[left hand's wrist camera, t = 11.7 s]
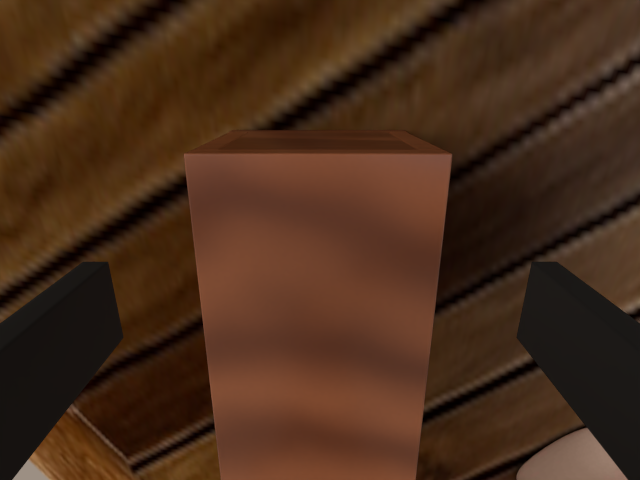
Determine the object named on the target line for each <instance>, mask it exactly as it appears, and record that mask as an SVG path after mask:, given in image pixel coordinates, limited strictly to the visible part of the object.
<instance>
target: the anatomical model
mask: <svg viewBox="0 0 640 480" xmlns="http://www.w3.org/2000/svg"><path fill="white" fill-rule="evenodd" d="M517 480H628V479H627V478H626V477H625V475H624V474H623V473H622V472H621V470H620V469H619V468H618V467H617V465H616V464H615V463H614V461H613V460H612V459H611V458H610V456H609V455H608V454H607V452H606V451H605V450H604V449H603V447H602V446H601V445H600V443H599V442H598V441H597V440H596V438H595V437H594V436H593V435H592V433H591V432H590V431H589V429H588V428H583V429H580V430H577V431H575V432H573V433H570V434H568V435H566V436H564V437H562V438H560V439H558V440H557V441H555V442H553V443H552V444H550V445H548V446H547V447H545V448H544V449H542V450H541V451H539V452H538V453H537V454H535V455H534V456H533V457H531V458H530V459H529V460H528V461H526V462H525V463H524V464H523V465H522V467H521V468H520V469H519V471H518V473H517Z"/></svg>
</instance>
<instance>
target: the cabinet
mask: <svg viewBox="0 0 640 480" xmlns="http://www.w3.org/2000/svg"><path fill="white" fill-rule="evenodd" d="M184 161H185V170H186V179H187V187H188V196H189V205H190V213H191V222H192V231H193V240H194V248H195V257H196V266H197V274H198V283H199V292H200V301H201V309H202V318H203V327H204V335H205V344H206V353H207V361H208V370H209V379H210V388H211V396H212V405H213V414H214V422H215V431H216V440H217V449H218V457H219V466H220V475H221V480H416V471H417V463H418V454H419V445H420V436H421V427H422V419H423V410H424V401H425V392H426V383H427V374H428V366H429V357H430V348H431V339H432V330H433V321H434V313H435V304H436V295H437V286H438V277H439V269H440V260H441V251H442V242H443V233H444V224H445V216H446V207H447V198H448V189H449V180H450V171H451V163H452V154H451V153H449V152H447V151H445V150H442V149H440V148H438V147H436V146H434V145H432V144H430V143H428V142H426V141H424V140H422V139H419V138H417V137H415V136H413V135H411V134H409V133H407V131H405V130H232V131H230V132H229V133H227V134H225V135H223V136H221V137H219V138H217V139H215V140H212V141H210V142H208V143H206V144H204V145H202V146H200V147H198V148H196V149H194V150H191V151H189V152H187V153H185V154H184Z"/></svg>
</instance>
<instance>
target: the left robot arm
mask: <svg viewBox="0 0 640 480" xmlns="http://www.w3.org/2000/svg"><path fill="white" fill-rule="evenodd" d="M122 339H123V333H122V328H121V323H120V318H119V313H118V308H117V303H116V299H115V294H114V289H113V284H112V279H111V274H110V269H109V264H108V262H82V263H81V264H80V265H78V266H77V267H76V268H74V269H73V270H72V271H70V272H69V273H68V274H66V275H65V276H64V277H62V278H61V279H60V280H58V281H57V282H56V283H54V284H53V285H51V286H50V287H49V288H47V289H46V290H45V291H43V292H42V293H41V294H39V295H38V296H37V297H35V298H34V299H33V300H31V301H30V302H29V303H27V304H26V305H25V306H23V307H22V308H20V309H19V310H18V311H16V312H15V313H14V314H12V315H11V316H10V317H8V318H7V319H6V320H4V321H3V322H2V323H0V480H12V479H13V478H14V477H15V475H16V474H17V473H18V472H19V470H20V469H21V468H22V467H23V465H24V464H25V463H26V461H27V460H28V459H29V458H30V456H31V455H32V454H33V452H34V451H35V450H36V449H37V447H38V446H39V445H40V443H41V442H42V441H43V440H44V438H45V437H46V436H47V435H48V433H49V432H50V431H51V429H52V428H53V427H54V426H55V424H56V423H57V422H58V420H59V419H60V418H61V417H62V415H63V414H64V413H65V412H66V410H67V409H68V408H69V406H70V405H71V404H72V403H73V401H74V400H75V399H76V397H77V396H78V395H79V394H80V392H81V391H82V390H83V389H84V387H85V386H86V385H87V383H88V382H89V381H90V380H91V378H92V377H93V376H94V374H95V373H96V372H97V371H98V369H99V368H100V367H101V365H102V364H103V363H104V362H105V360H106V359H107V358H108V357H109V355H110V354H111V353H112V351H113V350H114V349H115V348H116V346H117V345H118V344H119V342H120V341H121V340H122ZM517 339H518V340H519V341H520V342H521V344H522V345H523V346H524V348H525V349H526V350H527V351H528V353H529V354H530V355H531V357H532V358H533V359H534V360H535V362H536V363H537V364H538V365H539V367H540V368H541V369H542V371H543V372H544V373H545V374H546V376H547V377H548V378H549V380H550V381H551V382H552V383H553V385H554V386H555V387H556V389H557V390H558V391H559V392H560V394H561V395H562V396H563V397H564V399H565V400H566V401H567V403H568V404H569V405H570V406H571V408H572V409H573V410H574V412H575V413H576V414H577V415H578V417H579V418H580V419H581V420H582V422H583V423H584V424H585V426H586V427H587V428H588V429H589V431H590V432H591V433H592V435H593V436H594V437H595V438H596V440H597V441H598V442H599V443H600V445H601V446H602V447H603V449H604V450H605V451H606V452H607V454H608V455H609V456H610V458H611V459H612V460H613V461H614V463H615V464H616V465H617V467H618V468H619V469H620V470H621V472H622V473H623V474H624V475H625V477H626V478H627V479H628V480H640V323H638V322H637V321H636V320H634V319H633V318H632V317H630V316H629V315H628V314H626V313H625V312H624V311H622V310H621V309H620V308H618V307H617V306H615V305H614V304H613V303H611V302H610V301H609V300H607V299H606V298H605V297H603V296H602V295H601V294H599V293H598V292H597V291H595V290H594V289H593V288H591V287H590V286H589V285H587V284H586V283H584V282H583V281H582V280H580V279H579V278H578V277H576V276H575V275H574V274H572V273H571V272H570V271H568V270H567V269H566V268H564V267H563V266H562V265H560V264H559V263H558V262H532V264H531V269H530V274H529V279H528V284H527V289H526V294H525V299H524V303H523V308H522V313H521V318H520V323H519V328H518V333H517Z"/></svg>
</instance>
